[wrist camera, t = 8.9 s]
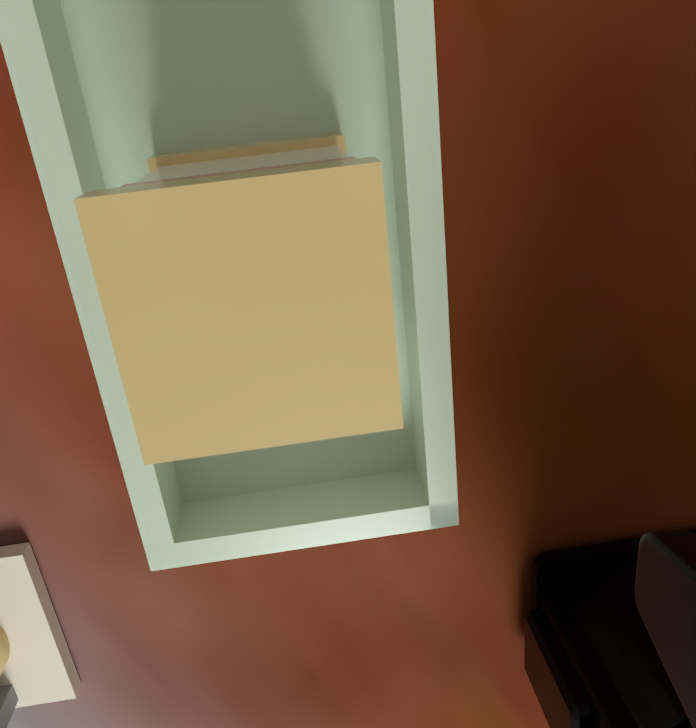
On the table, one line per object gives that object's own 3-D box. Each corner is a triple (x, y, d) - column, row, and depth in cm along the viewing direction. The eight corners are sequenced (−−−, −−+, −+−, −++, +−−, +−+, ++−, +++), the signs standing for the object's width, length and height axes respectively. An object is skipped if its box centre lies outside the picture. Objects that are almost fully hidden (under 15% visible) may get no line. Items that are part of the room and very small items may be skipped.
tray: (398, -175, 14) (422, -224, 12) (439, 476, 21) (458, 524, 18) (-6, -135, 14) (-62, -178, 12) (165, 516, 20) (150, 571, 18)
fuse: (340, 132, 16) (381, 161, 10) (359, 308, 18) (403, 428, 12) (154, 154, 16) (73, 198, 10) (192, 330, 18) (144, 465, 11)
